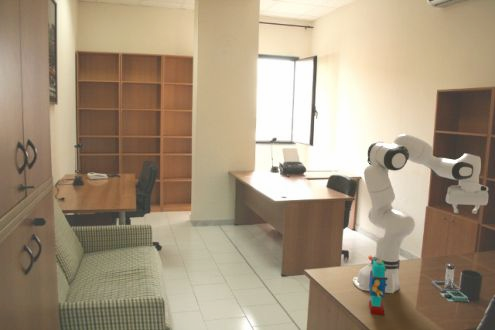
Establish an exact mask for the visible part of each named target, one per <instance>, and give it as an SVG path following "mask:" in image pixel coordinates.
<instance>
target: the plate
mask: <svg viewBox="0 0 495 330" xmlns="http://www.w3.org/2000/svg"><path fill="white" fill-rule="evenodd" d="M439 294H440V295H441V296H442V297H444V299H446V300H447V301H448V302H470V300H469V297H468V296H467V295H465V294H464V293H463V292H460V291H446V292H443V293H441V292H440V293H439Z"/></svg>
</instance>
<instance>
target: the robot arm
mask: <svg viewBox="0 0 495 330" xmlns="http://www.w3.org/2000/svg"><path fill="white" fill-rule="evenodd" d="M433 152H434V151H433V147H432V146H431V144H429V143H428V142H426V141H425V140H423V139H421V138H419V137H417V136H414V135H410V134H407V133H403V134H399V135H397V137H396V138H395V139H394V140H393V143H391V144H390V143H387V142H383V141H376V142H373V143H371V144H370V145H369V146H368V149H367V163H368V166H366V168H365V169H364V172H363V175H364V181H365V187H366V188H367V192H368V195H369V198H370V202H371V208H370V210H369V211H368V217H367V218H368V219H369V221H370V223H372V224H373V226H376V227H377V228H380V229H382V230H384V235H383V237H381V238H378V240H377V241H376V245H375V246H376V248H375V255H374V256H373V255H370V254H369V256H367V257H368V258H367V259H368V260H369V261H370V263H369V264H367V265H365V266H363V267H362V268H360V269H359V271H358V273H357V276H354V277H353V279H352V284H353V285H354V286H355V287H356V288H357V289H359V290H361V291H366V292H370V289H369V282H370V271H371V270H372V266H373V261H377V260H382V262H384V265H385V268H386V271H385V279H386V286H385V293H386V294H394V293H395V292H396V291H399V290H400V288H401V287H400V281H399V270H400V264H401V260H400V252H401V247H402V246H401V245H402V243H403V241H404V240H405V238H406V237H407V236H410V235H411V234H412V233H413V231H414V229H415V228H416V227H415V226H416V224H415V223H416V222H415V219H414V218H413V217H412V216H410V215H409V214H407V213H406V212H403V211H400V210H399V209H398V210H397V209H395V208H394V207H393V205H392V204H393V202H394V201H395V200H396V194H395V192H394V188H393V185H392V182H391V180H390V178H389V170H390V171H393V172H394V171H399V170H402V169H403V168H404V167H405V165H406V164H407V162H408V160H409V161H410V162H412V163H415V164H418V165H423V166H426V167H427V168H429V169H430V170H431V172H432V173H433V174H434V175H435V176H436V177H438V178H439V177H440V178H446V179H450V180H455V181H458V185H454V184H453V185H450V186H448V187H447V189H446V190H447V193H446V195H445V203H447V204H449V205H452V208H453V212H454V213H455V214H459V212H460V211H459V210H460V209H458V205H465V206H466V205H467V206H469V205H470V206H474V208H472V210H471V213H472V214H475V215H476V214H477V213H478V210H479V208H480V207H481V206H487V205H488V202H489V193H488V191H489V187H488V186H486V185H483V184H481V183H480V179H479V177H480V174H481V170H482V169H481V168H482V167H481V166H482V161H481V157H480V156H479V155H477V154H472V153H463V155H462V156H461V157H459V158H456V159H451V158H447V157H443V156H441V157H440V156H439V157H438V156H437V157H436V156H434V155H433ZM379 255H380V256H379Z"/></svg>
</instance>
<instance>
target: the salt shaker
mask: <svg viewBox="0 0 495 330" xmlns="http://www.w3.org/2000/svg"><path fill="white" fill-rule="evenodd" d="M456 267H457V266H456V265H455V264H453V263H445V278H444V281H445V284H444V287H443V288H444V289H454V286H453V283H454V277H455V269H456Z"/></svg>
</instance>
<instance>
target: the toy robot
mask: <svg viewBox="0 0 495 330" xmlns="http://www.w3.org/2000/svg"><path fill="white" fill-rule="evenodd" d="M379 256H380V255H379ZM385 271H386V268H385V265H384V262H382V260H377V261H373V266H372V270H371V271H370V282H369V289H370V291H369V294H370V300H369V301H368V302H369V303H368V306H369V307H368V308H369V312H370V314H373V315H382V316H384V315H385V309H384V306H383V302H382V298H385V286H386V279H385Z"/></svg>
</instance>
